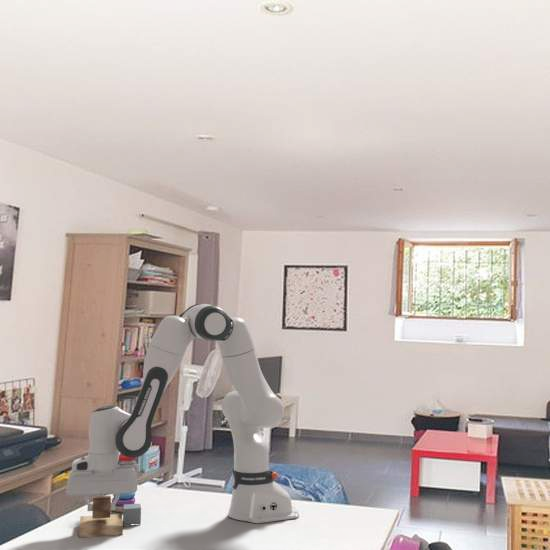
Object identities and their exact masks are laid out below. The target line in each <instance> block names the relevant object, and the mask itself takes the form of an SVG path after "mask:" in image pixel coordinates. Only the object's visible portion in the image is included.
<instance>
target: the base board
mask: <svg viewBox="0 0 550 550" xmlns="http://www.w3.org/2000/svg"><path fill="white" fill-rule="evenodd" d="M78 528H79V529H78V538H92V537H109V535H110V536H118V535H117V534H123V533H124V526H123V514H122V513H119V514H115V513H114V514H110V518H93V519H92V515H84V516H83V515H81V516H80V518H79V527H78Z"/></svg>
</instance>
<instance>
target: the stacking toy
mask: <svg viewBox="0 0 550 550" xmlns="http://www.w3.org/2000/svg"><path fill="white" fill-rule="evenodd" d="M119 461H134V462H135V458H129V457H126V456H124V455H122V454H121V453H119ZM127 465H128V464H127ZM112 495H113V497H112V498H111V502H114V500H115V494H112ZM135 496H136V492H135V493H128V494H120V498H119V500H118V501H117V503H116V508H115V510H112V511H113V512H114V513H123V508H124V505H125V504H136V498H135Z"/></svg>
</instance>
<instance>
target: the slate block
mask: <svg viewBox="0 0 550 550" xmlns="http://www.w3.org/2000/svg"><path fill="white" fill-rule="evenodd" d="M122 513H123V514H122V521H123V525H130V526H132V525H131V524H141V520H142V519H141V518H142V517H141V516H142V507H141V503H135V504H125V505H124V508H123V512H122Z"/></svg>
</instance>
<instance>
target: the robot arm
mask: <svg viewBox="0 0 550 550" xmlns="http://www.w3.org/2000/svg"><path fill="white" fill-rule="evenodd" d="M249 329H250V328H249V327H248V325H247V323H246V321H245V320H244V319H243V318H241V317H235V316H233V317H230V316H229V315H228V314H227V312H226V311H224V309H222V308H221V307H220V306H217V305H213V304H209V303H208V304H207V303H200V304H199V303H197V304H196V303H195V304H193V305H191V306H189V307H188V308H186V309H185V310H184V311H183V312H182V313H181V314H179V315H168V316H165V317H164V318H163V319H161V321H160V323H159V325H158V326H157V328H156V329H155V331H154V334H153V336H152V337H151V340H150V342H149V345H148V347H147V350H146V353H145V357H144V362H143V367H142V368H143V369H142V382H141V388H140V392H139V394H138V397H137V399H136V402H135V404H134V407H133V409H132V412H131V413H130V412H129V413H128V412H126V411H125V410H124V409H121V408H120V407H119V406H118V405H114V404H113V405H106V406H105V405H104V406H101V407H98V408H97V409H95V410H93V411H92V412H91V415H90V419H89V426H88V440H89V446H88V453H87V455H85V456H82V457H79V458H76V459H74V460H73V462H71V470H70V472H69V475H68V479H67V483H66V489H65V491H66V492H65V493H66V495H67V496H68V497H81V496H82V497H83V500H84V502H85V503H86V505H87V512H93V502H92V503H90V500H89V499H90V496H109V495H113V494H115V500H114V502H112V501H111V511H113V510H115V508H116V503H117V501H118V500H119V498H120V494H128V493H135V494H136V492H137V491H138V479H137V476H138V475H139V473H140V466H139V464H138V462H136V461H135V460H134V461H119V455H120V454H122V455H124V456H126V457H129V458H134V459H136V458H140V457H141V456H144V455H145V454H146V453H147V452H148V451H149V450H150V447H151V446H152V440H153V439H152V438H153V437H152V435H153V434H152V425H153V422H154V421H153V420H154V418H155V416H156V412H157V410H158V407H159V405H160V402H161V399H162V396H163V394H164V393H165V391H166V389H167V388H168V386H169V384H170V383H171V381H172V380H173V378H174V377H175V376H176V374H177V372H178V370H179V368H180V366H181V364H182V362H183V359H184V357H185V353H186V351H187V349H188V346H189V345H190V343H191V342H192V341H193V340H195V339H199V340H204V341H205V340H206V341H209V342H210V341H211V342H213V341H214V342H216V343H217V345H218V347H219V351H220V356H221V360H222V364H223V368H224V372H225V373H224V374H225V376H226V379H227V380H228V382H229V383H230V384H232V386H233V388H234V389H235V390H232V391H230V392H228V393H226V394H225V395H224V397H223V398H222V402H221V412H222V414H223V416H224V417H225V419H226V420H227V423H228V425H229V428H230V429H229V430H230V431H231V432H230V433H231V438H232V442H233V469H232V473H231V475H232V476H231V486H232V493H231V501H230V506H229V510H228V512H227V516H228V517H230V518H231V519H234V520H238V521H244V522H249V523H253V524H262V523H270V522H276V521H283V520H284V521H285V520H293V519H297V518H299V516H300V514H299V510H298V508H296V507H294V506H293V503H292V499H291V495H290V494H289V493H288V491H286V490H285V489H284V488H283V487H282V486H280V484H279V483H277V482H276V481H275V480H278V478H279V474H278V473H277V472H276V471H273V470H271V469H270V468H269V448H270V447H269V444H268V442H267V440H266V439H265V438H264V436H263V433H262V430H261V429H266V428H267V429H268V428H269V429H270V428H274V427H277V426H278V425H280V423H281V422H282V421H283V419H284V415H285V407H284V403H283V402H282V400H281V399H280V398H279V397H278V396H277V395H276V394H275V393H274V392H273V390H272V389H271V387H270V385H269V384H268V382H267V380H266V378H265V376H264V374H263V372H262V370H261V369H262V368H261V366H260V363H259V359H258V358H259V357H258V355H257V352H256V347H255V343H254V340H253V337H252V335H251V331H250V330H249ZM127 464H128V465H127Z"/></svg>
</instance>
